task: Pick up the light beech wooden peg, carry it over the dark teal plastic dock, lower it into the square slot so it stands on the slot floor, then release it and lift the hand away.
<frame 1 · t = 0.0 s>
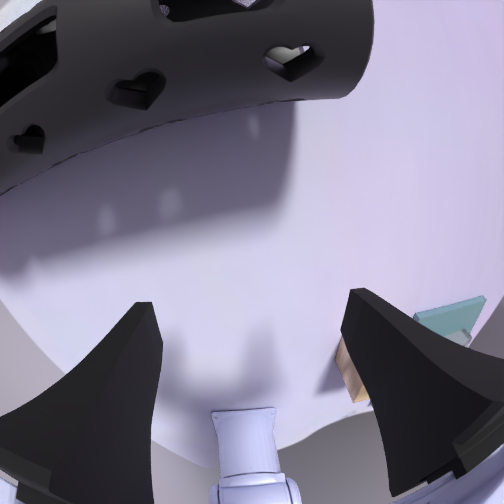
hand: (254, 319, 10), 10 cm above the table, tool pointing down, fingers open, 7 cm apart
dock: (428, 354, 30), on the table
peg: (355, 344, 26), on the table
muzzle brake: (88, 91, 13), on the table
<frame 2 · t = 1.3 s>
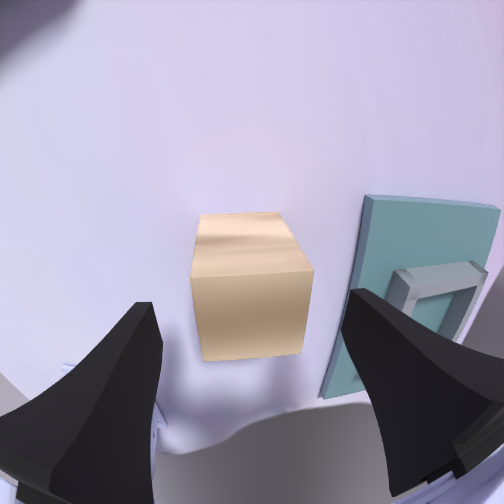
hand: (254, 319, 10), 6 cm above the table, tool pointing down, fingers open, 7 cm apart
dock: (415, 307, 19), on the table
peg: (240, 248, 15), on the table
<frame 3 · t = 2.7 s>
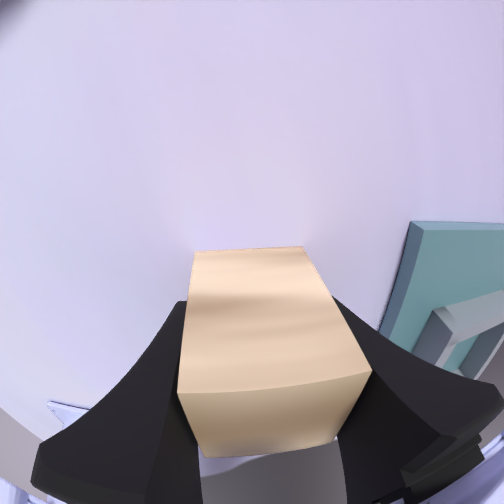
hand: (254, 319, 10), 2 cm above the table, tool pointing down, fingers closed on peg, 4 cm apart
dock: (444, 340, 15), on the table
peg: (249, 293, 11), on the table, touching gripper
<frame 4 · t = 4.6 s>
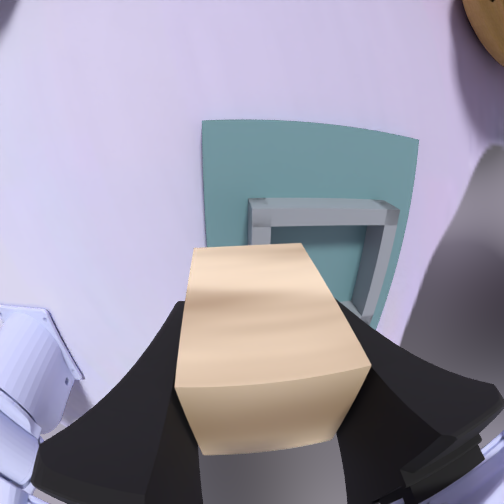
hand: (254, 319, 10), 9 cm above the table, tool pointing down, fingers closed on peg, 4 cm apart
pot: (481, 24, 10), on the table
dock: (310, 256, 19), on the table
peg: (248, 290, 11), point 7 cm above the table, touching gripper
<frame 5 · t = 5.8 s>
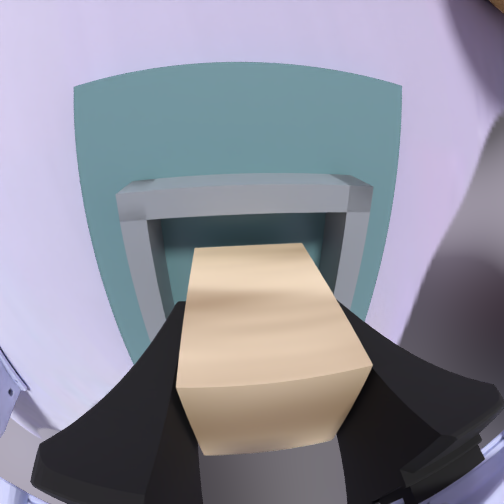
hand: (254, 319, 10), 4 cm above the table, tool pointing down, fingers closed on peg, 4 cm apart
dock: (243, 262, 13), on the table
peg: (249, 290, 11), point 3 cm above the table, touching gripper
when the fingers open (4 cm above the table, at t = 6.7 s): peg stays where it is, resting on dock.
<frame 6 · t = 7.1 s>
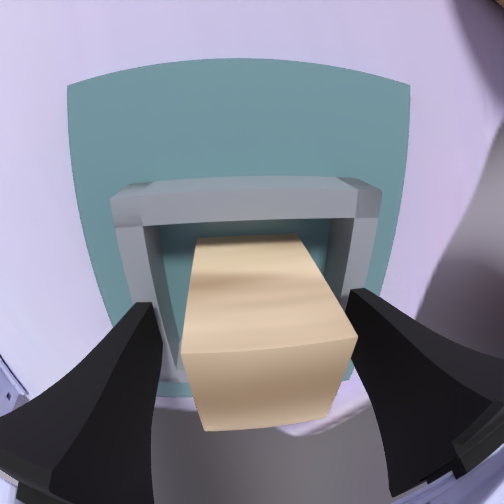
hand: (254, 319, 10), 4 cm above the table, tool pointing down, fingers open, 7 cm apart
dock: (245, 268, 13), on the table
peg: (247, 278, 12), point 1 cm above the table, touching dock
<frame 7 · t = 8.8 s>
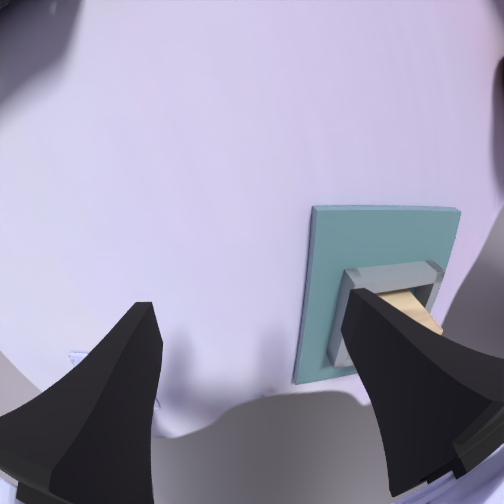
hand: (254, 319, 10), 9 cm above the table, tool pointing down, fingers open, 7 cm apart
dock: (376, 302, 22), on the table
peg: (381, 308, 21), point 1 cm above the table, touching dock
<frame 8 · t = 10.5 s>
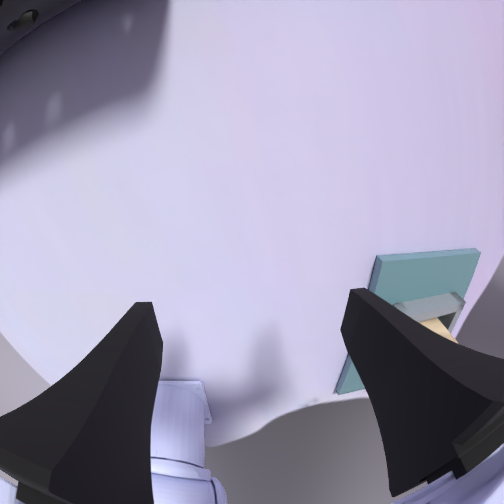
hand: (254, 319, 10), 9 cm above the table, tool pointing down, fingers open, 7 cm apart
dock: (409, 325, 25), on the table
peg: (413, 330, 24), point 1 cm above the table, touching dock
muzzle brake: (12, 34, 8), on the table
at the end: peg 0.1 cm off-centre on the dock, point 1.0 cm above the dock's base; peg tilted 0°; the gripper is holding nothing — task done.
